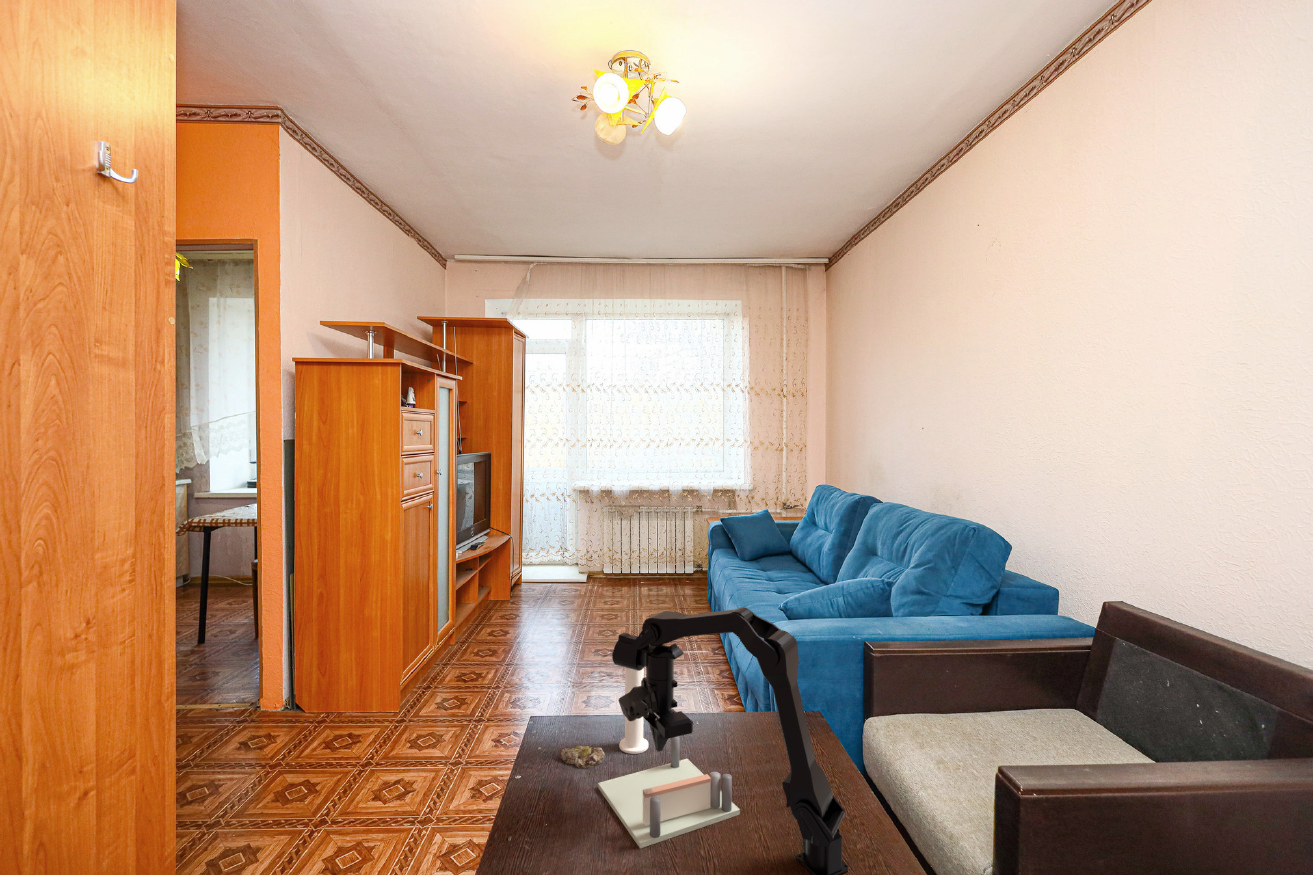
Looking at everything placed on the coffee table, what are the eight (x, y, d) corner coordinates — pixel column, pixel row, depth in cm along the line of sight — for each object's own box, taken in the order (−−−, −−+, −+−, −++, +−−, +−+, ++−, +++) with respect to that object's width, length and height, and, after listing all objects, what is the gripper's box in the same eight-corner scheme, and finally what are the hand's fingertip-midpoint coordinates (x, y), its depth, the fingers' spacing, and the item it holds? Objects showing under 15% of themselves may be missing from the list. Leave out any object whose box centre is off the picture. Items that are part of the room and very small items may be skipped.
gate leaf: (716, 800, 120) (717, 770, 120) (722, 806, 118) (722, 776, 118) (641, 819, 114) (642, 788, 114) (646, 826, 112) (646, 795, 112)
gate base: (740, 814, 118) (740, 776, 118) (640, 848, 108) (640, 807, 108) (687, 762, 137) (687, 730, 137) (598, 787, 127) (598, 752, 127)
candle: (615, 742, 145) (615, 641, 145) (641, 736, 148) (642, 637, 148) (625, 756, 139) (626, 650, 139) (653, 750, 142) (653, 646, 142)
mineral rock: (609, 741, 142) (602, 749, 134) (608, 761, 141) (601, 770, 133) (565, 739, 143) (556, 747, 136) (564, 760, 142) (555, 768, 134)
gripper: (607, 665, 127) (606, 737, 127) (642, 700, 110) (641, 784, 110) (654, 657, 132) (653, 727, 132) (694, 690, 115) (694, 770, 115)
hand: (659, 750), depth 122 cm, fingers closed
